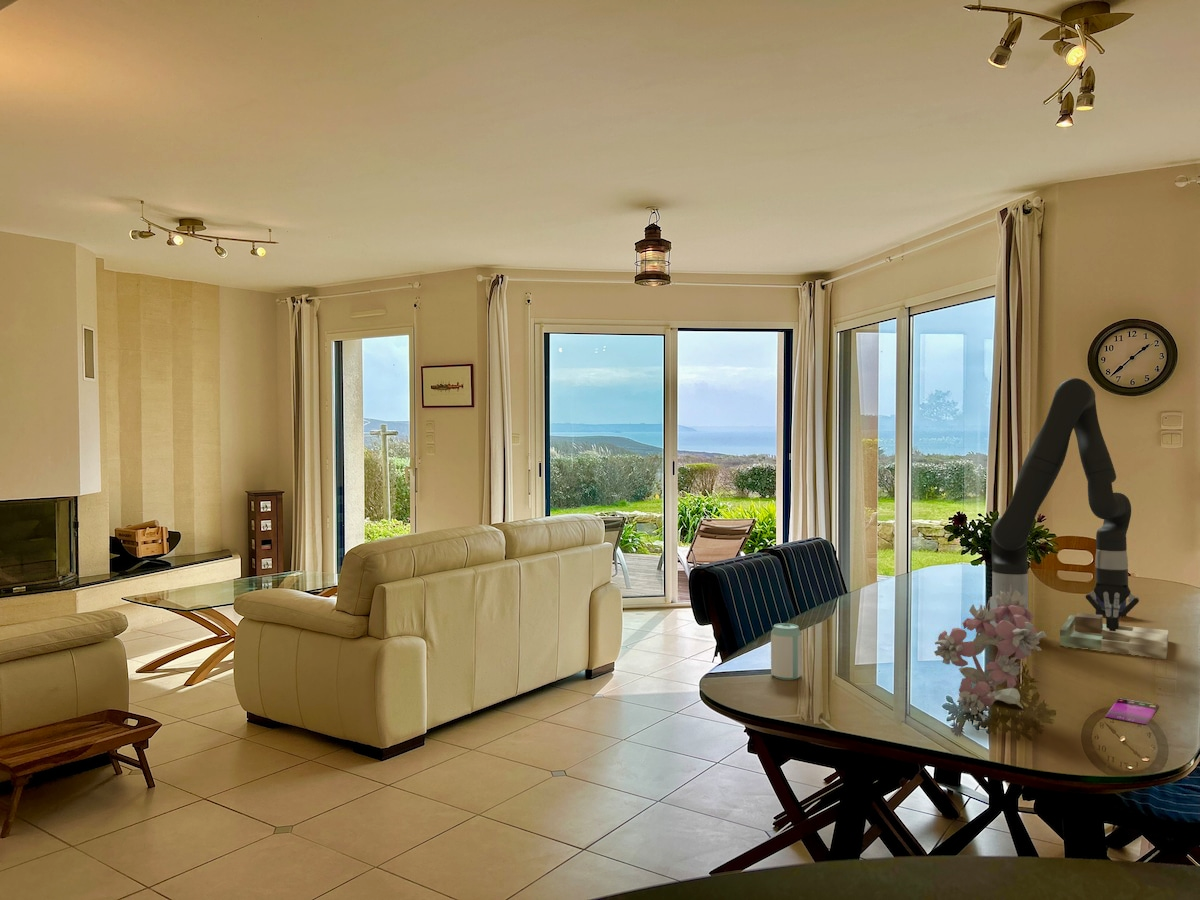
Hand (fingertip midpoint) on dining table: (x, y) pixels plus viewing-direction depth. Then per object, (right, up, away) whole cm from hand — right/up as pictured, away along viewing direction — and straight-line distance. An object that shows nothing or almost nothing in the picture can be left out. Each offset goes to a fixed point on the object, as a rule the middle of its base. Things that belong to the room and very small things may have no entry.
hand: (1112, 630), depth 226 cm
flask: (+22, -3, +36) cm, 42 cm away
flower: (-59, -5, -54) cm, 80 cm away
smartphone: (-31, -5, -57) cm, 65 cm away
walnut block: (-5, -1, +3) cm, 6 cm away
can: (-95, -5, -30) cm, 100 cm away
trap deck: (0, -4, 0) cm, 4 cm away
